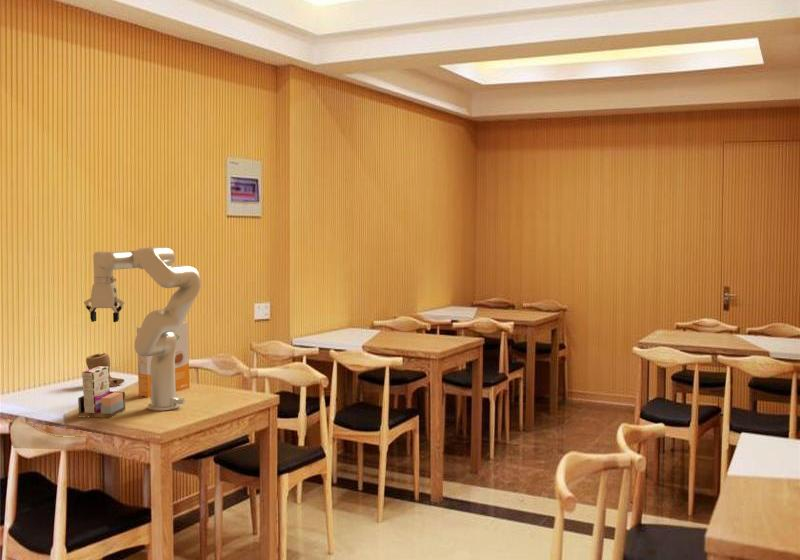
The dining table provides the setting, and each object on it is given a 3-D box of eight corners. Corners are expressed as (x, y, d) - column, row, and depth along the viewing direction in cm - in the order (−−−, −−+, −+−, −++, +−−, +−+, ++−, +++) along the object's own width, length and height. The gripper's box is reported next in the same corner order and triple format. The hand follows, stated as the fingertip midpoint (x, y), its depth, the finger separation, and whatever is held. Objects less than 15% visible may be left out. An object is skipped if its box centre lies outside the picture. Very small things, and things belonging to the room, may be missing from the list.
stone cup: (81, 386, 352) (80, 354, 351) (101, 381, 362) (100, 350, 361) (105, 389, 345) (104, 356, 344) (125, 384, 356) (124, 352, 355)
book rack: (125, 410, 307) (124, 391, 306) (110, 417, 294) (109, 398, 294) (94, 409, 308) (94, 391, 308) (78, 417, 296) (77, 398, 295)
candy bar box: (99, 406, 307) (98, 366, 305) (110, 407, 306) (109, 366, 305) (83, 413, 296) (81, 371, 294) (95, 413, 295) (93, 371, 294)
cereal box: (180, 386, 351) (178, 321, 349) (189, 388, 347) (187, 322, 345) (138, 395, 332) (136, 327, 330) (148, 397, 329) (146, 328, 327)
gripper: (127, 280, 324) (128, 320, 325) (88, 280, 326) (89, 320, 327) (119, 281, 317) (120, 323, 318) (79, 281, 318) (80, 322, 320)
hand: (104, 321), depth 322 cm, fingers open, 9 cm apart
